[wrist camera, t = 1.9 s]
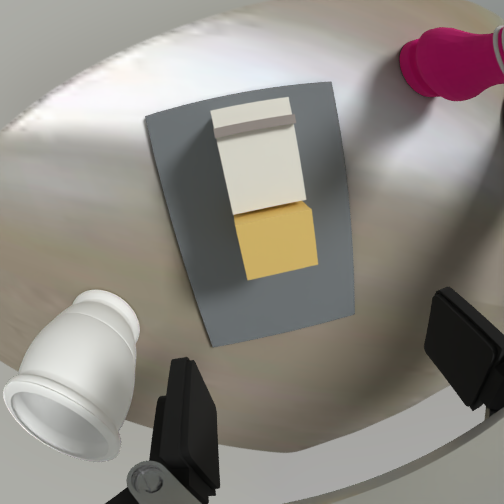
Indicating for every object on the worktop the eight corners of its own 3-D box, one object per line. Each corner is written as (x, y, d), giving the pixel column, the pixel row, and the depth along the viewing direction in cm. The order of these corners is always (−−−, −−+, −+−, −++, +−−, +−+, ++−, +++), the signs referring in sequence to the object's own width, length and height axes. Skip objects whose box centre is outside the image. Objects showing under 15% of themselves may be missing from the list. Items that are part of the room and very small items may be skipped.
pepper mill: (385, 76, 22) (573, 57, 4) (404, 24, 20) (562, -20, 2) (437, 114, 24) (606, 142, 6) (453, 63, 22) (605, 62, 3)
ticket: (273, 104, 23) (291, 96, 17) (288, 184, 25) (309, 201, 19) (212, 116, 22) (209, 110, 17) (229, 196, 25) (232, 217, 19)
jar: (82, 260, 26) (3, 357, 13) (166, 313, 30) (140, 436, 16) (55, 326, 29) (1, 418, 15) (127, 369, 32) (100, 473, 19)
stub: (288, 188, 25) (311, 209, 19) (295, 231, 27) (318, 264, 21) (231, 200, 25) (235, 225, 19) (241, 243, 27) (247, 280, 20)
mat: (329, 82, 22) (331, 81, 22) (353, 312, 32) (354, 314, 32) (146, 116, 22) (145, 116, 22) (212, 344, 32) (212, 347, 31)
